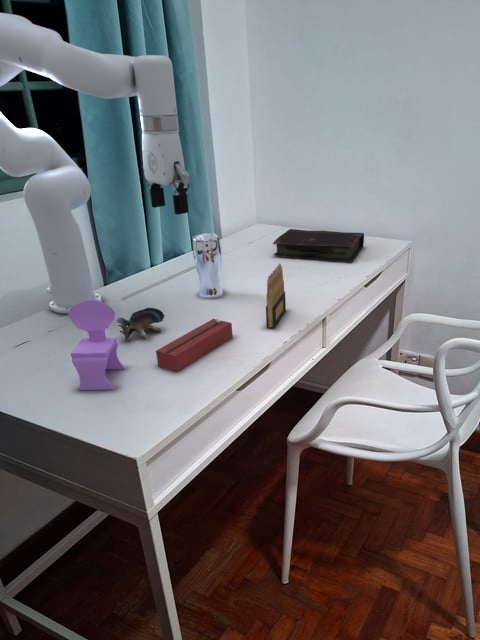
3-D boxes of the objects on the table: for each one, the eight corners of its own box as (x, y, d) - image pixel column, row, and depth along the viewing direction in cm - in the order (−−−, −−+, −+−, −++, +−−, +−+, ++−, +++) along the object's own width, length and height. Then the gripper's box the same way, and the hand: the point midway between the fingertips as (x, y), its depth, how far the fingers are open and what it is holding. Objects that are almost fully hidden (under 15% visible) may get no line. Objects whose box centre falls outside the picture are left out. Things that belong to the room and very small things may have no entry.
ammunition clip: (274, 328, 121) (272, 277, 115) (266, 328, 121) (264, 276, 115) (286, 311, 130) (284, 262, 124) (278, 310, 130) (276, 261, 124)
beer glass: (220, 299, 138) (214, 240, 130) (194, 298, 139) (187, 240, 131) (228, 290, 143) (223, 233, 136) (203, 289, 145) (197, 232, 137)
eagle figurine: (138, 344, 113) (171, 323, 118) (118, 315, 112) (153, 295, 116) (128, 351, 119) (159, 332, 124) (108, 324, 118) (141, 305, 123)
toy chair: (72, 391, 99) (53, 315, 91) (88, 368, 106) (71, 296, 99) (118, 390, 99) (102, 314, 91) (130, 368, 106) (116, 295, 99)
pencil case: (158, 366, 107) (155, 348, 105) (214, 333, 120) (213, 316, 118) (177, 372, 104) (174, 353, 102) (232, 337, 118) (231, 320, 116)
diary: (290, 242, 183) (290, 227, 180) (363, 246, 176) (364, 231, 173) (272, 258, 168) (271, 242, 165) (351, 263, 161) (352, 247, 158)
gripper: (123, 123, 115) (135, 206, 124) (165, 128, 104) (176, 219, 113) (155, 121, 119) (164, 201, 128) (198, 126, 108) (206, 213, 117)
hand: (169, 209), depth 120 cm, fingers open, 9 cm apart
